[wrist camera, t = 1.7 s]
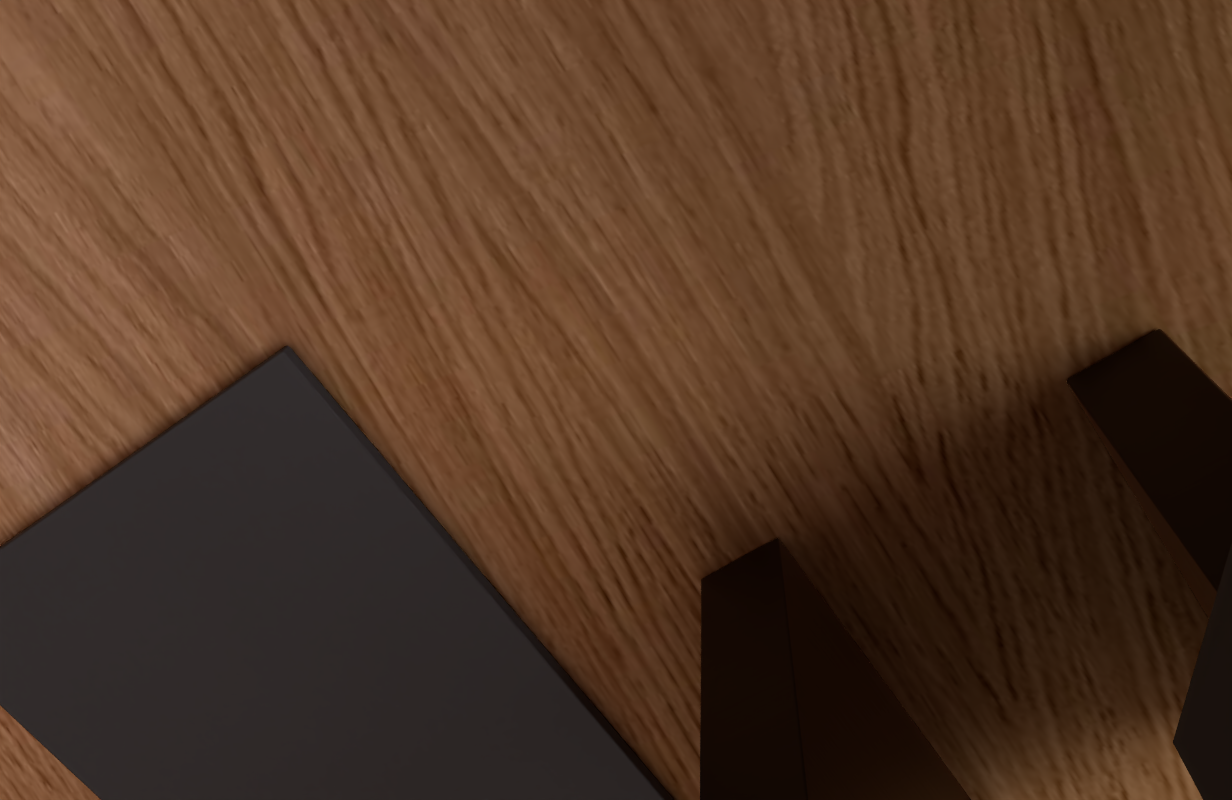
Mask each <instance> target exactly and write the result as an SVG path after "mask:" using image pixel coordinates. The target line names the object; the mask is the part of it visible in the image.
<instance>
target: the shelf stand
mask: <svg viewBox="0 0 1232 800" xmlns="http://www.w3.org/2000/svg"><path fill="white" fill-rule="evenodd" d="M1067 384H1068V386H1069V387H1070V389H1071V391H1072V392H1073V394H1074V396H1075V397H1076V399H1077V401H1078V402H1079V404H1080V406H1081V407H1082V409H1083V411H1084V412H1085V414H1086V416H1087V417H1088V419H1089V421H1090V422H1091V424H1092V426H1093V427H1094V429H1095V431H1096V432H1097V434H1098V436H1099V437H1100V439H1101V441H1102V442H1103V444H1104V446H1105V447H1106V449H1107V451H1108V452H1109V454H1110V456H1111V457H1112V459H1113V461H1114V462H1115V464H1116V466H1117V467H1118V469H1119V471H1120V472H1121V474H1122V476H1123V477H1124V479H1125V481H1126V482H1127V484H1128V486H1129V487H1130V489H1131V491H1132V492H1133V494H1134V496H1135V497H1136V499H1137V501H1138V502H1139V504H1140V506H1141V507H1142V509H1143V511H1144V512H1145V514H1146V516H1147V517H1148V519H1149V521H1150V522H1151V524H1152V526H1153V527H1154V529H1155V531H1156V532H1157V534H1158V536H1159V537H1160V539H1161V541H1162V542H1163V544H1164V546H1165V547H1166V549H1167V551H1168V552H1169V554H1170V556H1171V557H1172V559H1173V561H1174V562H1175V564H1176V566H1177V567H1178V569H1179V571H1180V572H1181V574H1182V576H1183V577H1184V579H1185V581H1186V582H1187V584H1188V586H1189V587H1190V589H1191V591H1192V592H1193V594H1194V596H1195V597H1196V599H1197V601H1198V602H1199V604H1200V606H1201V607H1202V609H1203V611H1204V612H1205V614H1206V616H1207V617H1208V619H1209V618H1210V615H1211V611H1212V608H1213V605H1214V601H1215V598H1216V595H1217V591H1218V588H1219V584H1220V581H1221V578H1222V574H1223V571H1224V567H1225V564H1226V561H1227V557H1228V554H1229V551H1230V547H1231V544H1232V399H1231V398H1230V397H1229V396H1228V395H1227V394H1226V393H1225V392H1224V391H1223V390H1222V389H1221V388H1220V387H1219V386H1218V385H1217V384H1216V383H1215V382H1214V381H1213V380H1212V379H1211V378H1210V377H1209V376H1208V375H1207V374H1206V373H1205V372H1204V371H1203V370H1202V369H1201V368H1200V367H1199V366H1198V365H1197V364H1196V363H1194V362H1193V361H1192V360H1191V359H1190V358H1189V357H1188V356H1187V355H1186V354H1185V353H1184V352H1183V351H1182V350H1181V349H1180V348H1179V347H1178V346H1177V345H1176V344H1175V343H1174V342H1173V341H1172V340H1171V339H1170V338H1169V337H1168V336H1167V335H1166V334H1165V333H1164V332H1163V331H1162V330H1161V329H1158V330H1156V331H1154V332H1152V333H1150V334H1148V335H1147V336H1145V337H1143V338H1141V339H1139V340H1138V341H1136V342H1134V343H1132V344H1130V345H1128V346H1127V347H1125V348H1123V349H1121V350H1119V351H1117V352H1116V353H1114V354H1112V355H1110V356H1108V357H1107V358H1105V359H1103V360H1101V361H1099V362H1097V363H1096V364H1094V365H1092V366H1090V367H1088V368H1087V369H1085V370H1083V371H1081V372H1079V373H1077V374H1076V375H1074V376H1072V377H1070V378H1068V379H1067ZM700 800H971V799H970V798H969V797H968V795H967V794H966V793H965V791H964V790H963V789H962V787H961V786H960V784H959V783H958V782H957V780H956V779H955V778H954V776H953V775H952V774H951V772H950V771H949V769H948V768H947V767H946V765H945V764H944V763H943V761H942V760H941V759H940V757H939V756H938V754H937V753H936V752H935V750H934V749H933V748H932V746H931V745H930V744H929V742H928V741H927V739H926V738H925V737H924V735H923V734H922V733H921V731H920V730H919V729H918V727H917V726H916V724H915V723H914V722H913V720H912V719H911V718H910V716H909V715H908V714H907V712H906V711H905V710H904V708H903V707H902V705H901V704H900V703H899V701H898V700H897V699H896V697H895V696H894V695H893V693H892V692H891V690H890V689H889V688H888V686H887V685H886V684H885V682H884V681H883V680H882V678H881V677H880V675H879V674H878V673H877V671H876V670H875V669H874V667H873V666H872V665H871V663H870V662H869V660H868V659H867V658H866V656H865V655H864V654H863V652H862V651H861V650H860V648H859V647H858V645H857V644H856V643H855V641H854V640H853V639H852V637H851V636H850V635H849V633H848V632H847V630H846V629H845V628H844V626H843V625H842V624H841V622H840V621H839V620H838V618H837V617H836V615H835V614H834V613H833V611H832V610H831V609H830V607H829V606H828V605H827V603H826V602H825V600H824V599H823V598H822V596H821V595H820V594H819V592H818V591H817V590H816V588H815V587H814V585H813V584H812V583H811V581H810V580H809V579H808V577H807V576H806V575H805V573H804V572H803V570H802V569H801V568H800V566H799V565H798V564H797V562H796V561H795V560H794V558H793V557H792V555H791V554H790V553H789V551H788V550H787V549H786V547H785V546H784V545H783V543H782V542H781V540H780V539H779V538H776V539H774V540H772V541H770V542H769V543H767V544H765V545H763V546H761V547H759V548H758V549H756V550H754V551H752V552H750V553H749V554H747V555H745V556H743V557H741V558H739V559H738V560H736V561H734V562H732V563H730V564H729V565H727V566H725V567H723V568H721V569H719V570H718V571H716V572H714V573H712V574H710V575H708V576H707V577H705V578H703V579H702V580H701V731H700Z"/></svg>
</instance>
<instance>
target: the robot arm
mask: <svg viewBox="0 0 1232 800" xmlns="http://www.w3.org/2000/svg"><path fill="white" fill-rule="evenodd" d="M1173 743H1174V745H1175V747H1176V749H1177V751H1178V753H1179V755H1180V757H1181V759H1182V760H1183V762H1184V764H1185V766H1186V768H1187V770H1188V772H1189V774H1190V775H1191V777H1192V779H1193V781H1194V783H1195V785H1196V787H1197V789H1198V790H1199V792H1200V794H1201V796H1202V798H1203V800H1232V544H1231V547H1230V551H1229V554H1228V557H1227V561H1226V564H1225V567H1224V571H1223V574H1222V578H1221V581H1220V584H1219V588H1218V591H1217V595H1216V598H1215V601H1214V605H1213V608H1212V611H1211V615H1210V618H1209V622H1208V625H1207V628H1206V632H1205V635H1204V638H1203V642H1202V645H1201V649H1200V652H1199V655H1198V659H1197V662H1196V666H1195V669H1194V672H1193V676H1192V679H1191V682H1190V686H1189V689H1188V693H1187V696H1186V699H1185V703H1184V706H1183V709H1182V713H1181V716H1180V720H1179V723H1178V726H1177V730H1176V733H1175V737H1174V740H1173Z"/></svg>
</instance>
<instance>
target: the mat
mask: <svg viewBox="0 0 1232 800" xmlns="http://www.w3.org/2000/svg"><path fill="white" fill-rule="evenodd" d="M0 705H1V706H2V707H3V708H4V709H5V710H6V711H7V712H8V713H9V714H10V715H11V716H12V717H13V718H14V719H16V720H17V721H18V722H19V723H20V724H21V725H22V726H23V727H24V728H25V729H26V730H27V731H28V732H29V733H30V734H32V735H33V736H34V737H35V738H36V739H37V740H38V741H39V742H40V743H41V744H42V745H43V746H44V747H45V748H47V749H48V750H49V751H50V752H51V753H52V754H53V755H54V756H55V757H56V758H57V759H58V760H59V761H60V762H61V763H63V764H64V765H65V766H66V767H67V768H68V769H69V770H70V771H71V772H72V773H73V774H74V775H75V776H76V777H77V778H79V779H80V780H81V781H82V782H83V783H84V784H85V785H86V786H87V787H88V788H89V789H90V790H91V791H92V792H93V793H95V794H96V795H97V796H98V797H99V798H100V799H101V800H673V798H672V797H671V796H670V795H669V794H668V792H667V791H666V790H665V789H664V788H663V787H662V785H661V784H660V783H659V782H658V781H657V780H656V778H655V777H654V776H653V775H652V774H651V772H650V771H649V770H648V769H647V768H646V767H645V765H644V764H643V763H642V762H641V761H640V759H639V758H638V757H637V756H636V755H635V754H634V752H633V751H632V750H631V749H630V748H629V747H628V745H627V744H626V743H625V742H624V741H623V739H622V738H621V737H620V736H619V735H618V734H617V732H616V731H615V730H614V729H613V728H612V726H611V725H610V724H609V723H608V722H607V721H606V719H605V718H604V717H603V716H602V715H601V713H600V712H599V711H598V710H597V709H596V708H595V706H594V705H593V704H592V703H591V702H590V701H589V699H588V698H587V697H586V696H585V695H584V693H583V692H582V691H581V690H580V689H579V688H578V686H577V685H576V684H575V683H574V682H573V680H572V679H571V678H570V677H569V676H568V675H567V673H566V672H565V671H564V670H563V669H562V667H561V666H560V665H559V664H558V663H557V662H556V660H555V659H554V658H553V657H552V656H551V655H550V653H549V652H548V651H547V650H546V649H545V647H544V646H543V645H542V644H541V643H540V642H539V640H538V639H537V638H536V637H535V636H534V634H533V633H532V632H531V631H530V630H529V629H528V627H527V626H526V625H525V624H524V623H523V621H522V620H521V619H520V618H519V617H518V616H517V614H516V613H515V612H514V611H513V610H512V609H511V607H510V606H509V605H508V604H507V603H506V601H505V600H504V599H503V598H502V597H501V596H500V594H499V593H498V592H497V591H496V590H495V588H494V587H493V586H492V585H491V584H490V583H489V581H488V580H487V579H486V578H485V577H484V575H483V574H482V573H481V572H480V571H479V570H478V568H477V567H476V566H475V565H474V564H473V563H472V561H471V560H470V559H469V558H468V557H467V555H466V554H465V553H464V552H463V551H462V550H461V548H460V547H459V546H458V545H457V544H456V542H455V541H454V540H453V539H452V538H451V537H450V535H449V534H448V533H447V532H446V531H445V529H444V528H443V527H442V526H441V525H440V524H439V522H438V521H437V520H436V519H435V518H434V517H433V515H432V514H431V513H430V512H429V511H428V509H427V508H426V507H425V506H424V505H423V504H422V502H421V501H420V500H419V499H418V498H417V496H416V495H415V494H414V493H413V492H412V491H411V489H410V488H409V487H408V486H407V485H406V483H405V482H404V481H403V480H402V479H401V478H400V476H399V475H398V474H397V473H396V472H395V471H394V469H393V468H392V467H391V466H390V465H389V463H388V462H387V461H386V460H385V459H384V458H383V456H382V455H381V454H380V453H379V452H378V450H377V449H376V448H375V447H374V446H373V445H372V443H371V442H370V441H369V440H368V439H367V437H366V436H365V435H364V434H363V433H362V432H361V430H360V429H359V428H358V427H357V426H356V425H355V423H354V422H353V421H352V420H351V419H350V417H349V416H348V415H347V414H346V413H345V412H344V410H343V409H342V408H341V407H340V406H339V404H338V403H337V402H336V401H335V400H334V399H333V397H332V396H331V395H330V394H329V393H328V391H327V390H326V389H325V388H324V387H323V386H322V384H321V383H320V382H319V381H318V380H317V379H316V377H315V376H314V375H313V374H312V373H311V371H310V370H309V369H308V368H307V367H306V366H305V364H304V363H303V362H302V361H301V360H300V358H299V357H298V356H297V355H296V354H295V353H294V351H293V350H292V349H291V348H290V347H289V346H285V347H284V348H282V349H281V350H279V351H278V352H276V353H275V354H274V355H272V356H271V357H269V358H268V359H267V360H265V361H264V362H262V363H261V364H259V365H258V366H257V367H255V368H254V369H252V370H251V371H249V372H248V373H247V374H245V375H244V376H242V377H241V378H240V379H238V380H237V381H235V382H234V383H232V384H231V385H230V386H228V387H227V388H225V389H224V390H222V391H221V392H220V393H218V394H217V395H215V396H214V397H212V398H211V399H210V400H208V401H207V402H205V403H204V404H203V405H201V406H200V407H198V408H197V409H195V410H194V411H193V412H191V413H190V414H188V415H187V416H185V417H184V418H183V419H181V420H180V421H178V422H177V423H176V424H174V425H173V426H171V427H170V428H168V429H167V430H166V431H164V432H163V433H161V434H160V435H158V436H157V437H156V438H154V439H153V440H151V441H150V442H148V443H147V444H146V445H144V446H143V447H141V448H140V449H139V450H137V451H136V452H134V453H133V454H131V455H130V456H129V457H127V458H126V459H124V460H123V461H121V462H120V463H119V464H117V465H116V466H114V467H113V468H112V469H110V470H109V471H107V472H106V473H104V474H103V475H102V476H100V477H99V478H97V479H96V480H94V481H93V482H92V483H90V484H89V485H87V486H86V487H84V488H83V489H82V490H80V491H79V492H77V493H76V494H75V495H73V496H72V497H70V498H69V499H67V500H66V501H65V502H63V503H62V504H60V505H59V506H57V507H56V508H55V509H53V510H52V511H50V512H49V513H47V514H46V515H45V516H43V517H42V518H40V519H39V520H38V521H36V522H35V523H33V524H32V525H30V526H29V527H28V528H26V529H25V530H23V531H22V532H20V533H19V534H18V535H16V536H15V537H13V538H12V539H11V540H9V541H8V542H6V543H5V544H3V545H2V546H1V547H0Z"/></svg>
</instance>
